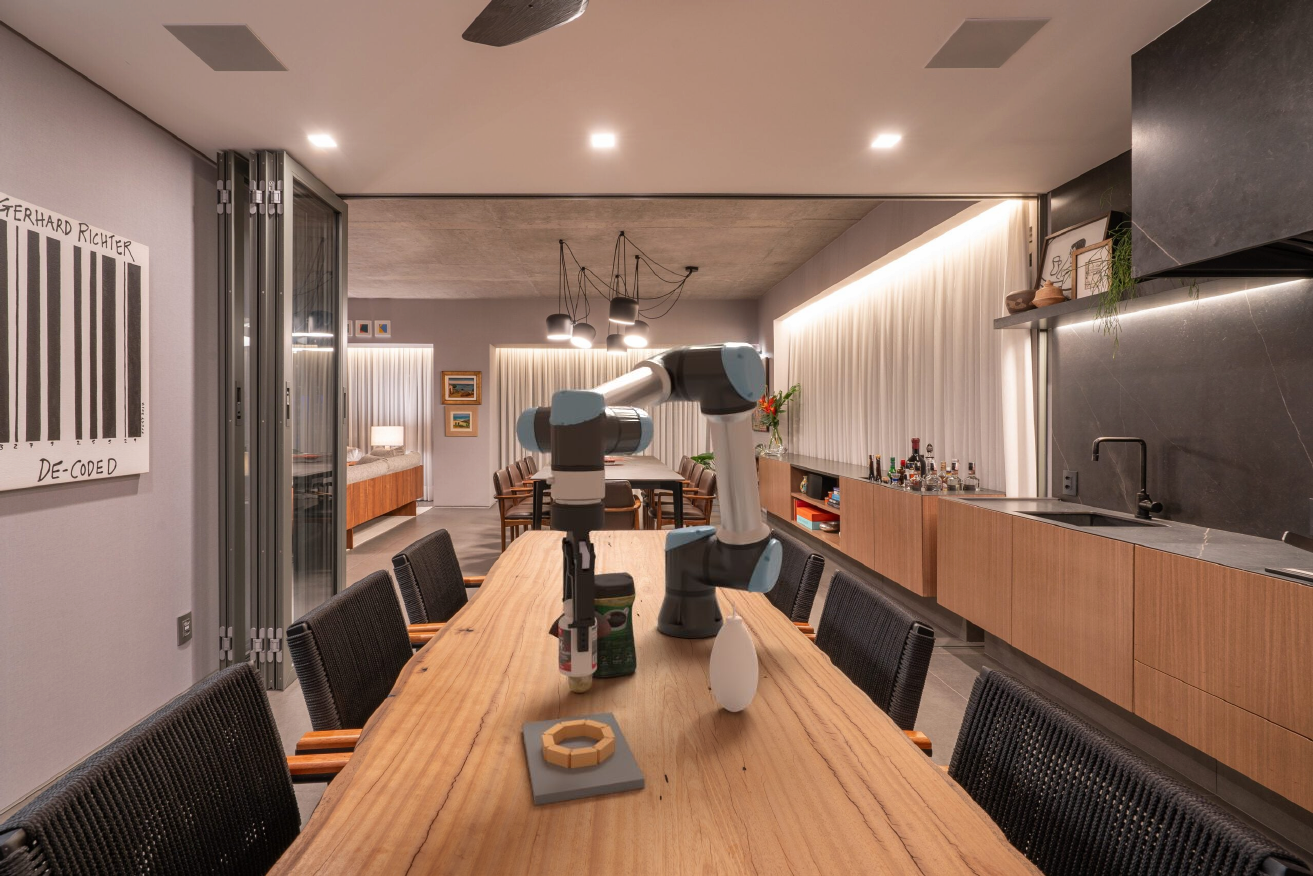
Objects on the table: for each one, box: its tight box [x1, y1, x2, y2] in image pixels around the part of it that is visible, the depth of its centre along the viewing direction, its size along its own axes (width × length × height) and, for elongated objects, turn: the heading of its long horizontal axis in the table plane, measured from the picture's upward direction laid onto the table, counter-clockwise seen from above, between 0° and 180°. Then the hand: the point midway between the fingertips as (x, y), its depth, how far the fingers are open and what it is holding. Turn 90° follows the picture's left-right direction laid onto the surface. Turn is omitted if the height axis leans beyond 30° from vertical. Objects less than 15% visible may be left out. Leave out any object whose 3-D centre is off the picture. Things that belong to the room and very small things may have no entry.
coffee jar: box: [592, 571, 638, 678], centre depth 123 cm, size 10×8×19 cm
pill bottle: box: [558, 599, 597, 677], centre depth 91 cm, size 5×5×10 cm
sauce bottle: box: [708, 601, 759, 713], centre depth 106 cm, size 8×8×18 cm
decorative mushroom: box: [548, 611, 612, 694], centre depth 113 cm, size 11×11×15 cm
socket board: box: [521, 711, 646, 806], centre depth 91 cm, size 14×20×3 cm
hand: (577, 665), depth 91 cm, fingers closed on pill bottle, 5 cm apart
